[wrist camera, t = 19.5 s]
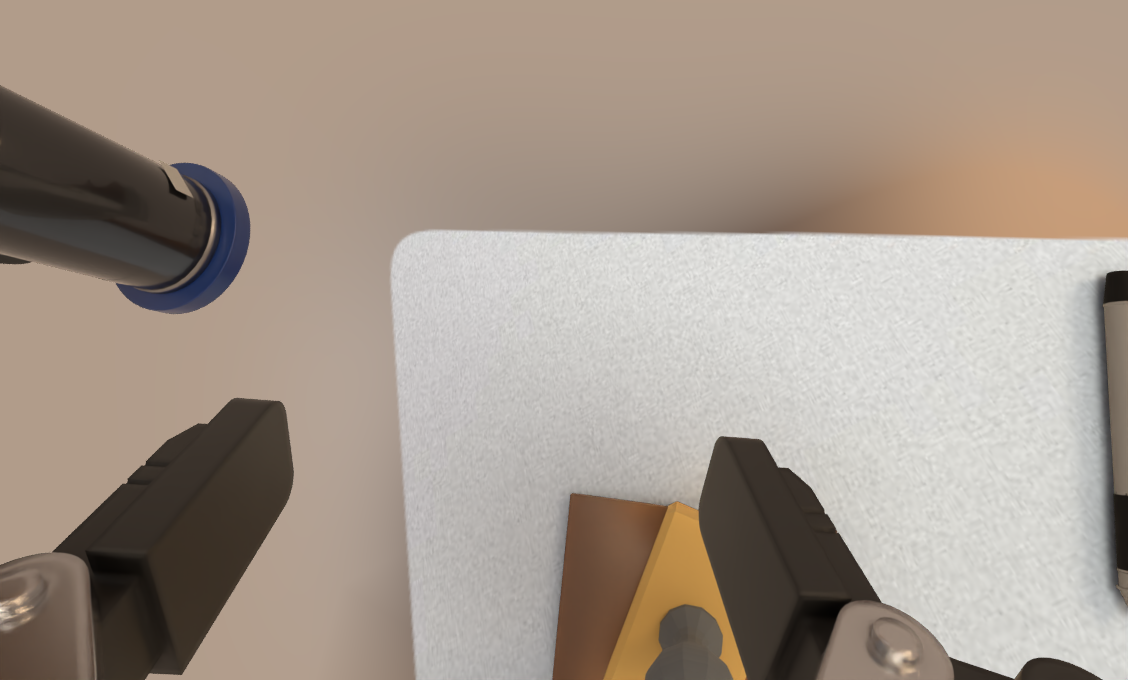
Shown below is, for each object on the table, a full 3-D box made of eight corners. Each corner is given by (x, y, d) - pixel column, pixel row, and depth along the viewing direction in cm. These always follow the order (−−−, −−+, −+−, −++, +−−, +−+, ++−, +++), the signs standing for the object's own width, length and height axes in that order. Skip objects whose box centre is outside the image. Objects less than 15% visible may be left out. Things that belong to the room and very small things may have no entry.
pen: (1124, 276, 28) (1145, 269, 27) (1143, 624, 26) (1167, 634, 25) (1093, 275, 28) (1112, 268, 27) (1109, 620, 26) (1131, 629, 25)
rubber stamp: (709, 730, 29) (723, 938, 17) (604, 673, 30) (551, 830, 18) (777, 545, 29) (835, 624, 18) (671, 498, 31) (660, 543, 19)
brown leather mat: (554, 677, 31) (552, 681, 31) (572, 492, 32) (570, 493, 32) (826, 735, 28) (828, 741, 27) (834, 528, 29) (837, 530, 29)
